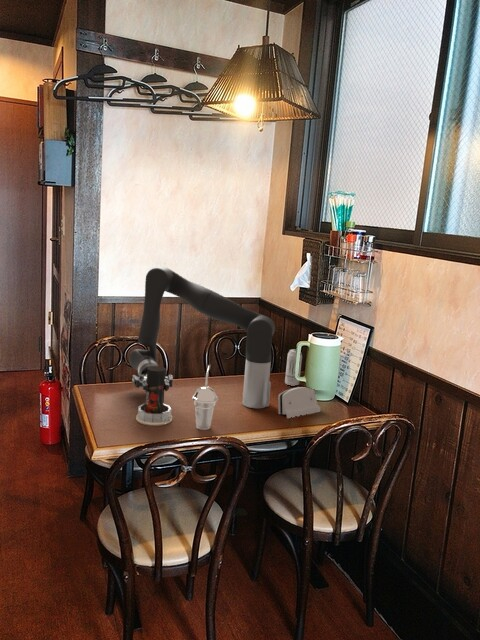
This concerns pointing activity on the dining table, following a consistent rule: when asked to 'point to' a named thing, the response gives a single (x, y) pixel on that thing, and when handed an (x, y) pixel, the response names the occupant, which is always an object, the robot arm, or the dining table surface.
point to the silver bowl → (154, 416)
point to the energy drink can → (292, 368)
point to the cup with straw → (204, 404)
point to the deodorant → (155, 389)
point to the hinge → (298, 402)
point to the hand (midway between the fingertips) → (156, 388)
